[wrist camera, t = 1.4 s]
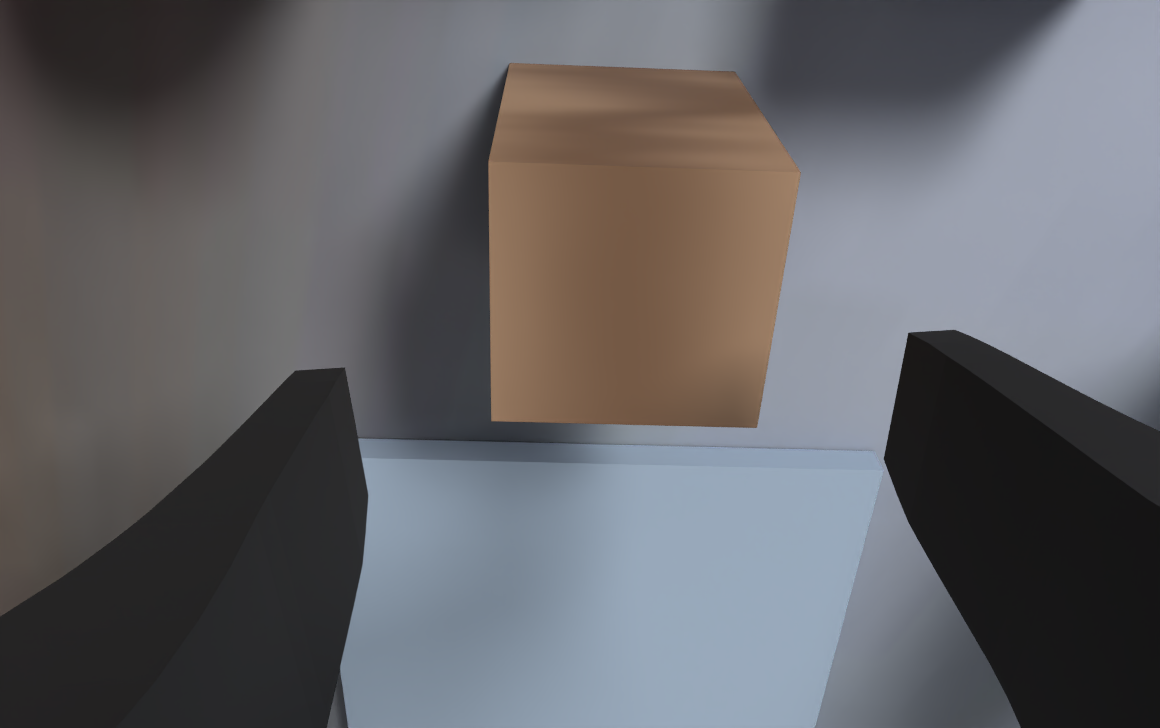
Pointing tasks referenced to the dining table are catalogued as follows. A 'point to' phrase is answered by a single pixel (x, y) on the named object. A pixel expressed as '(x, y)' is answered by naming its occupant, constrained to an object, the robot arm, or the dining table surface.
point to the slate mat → (602, 584)
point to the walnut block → (634, 247)
